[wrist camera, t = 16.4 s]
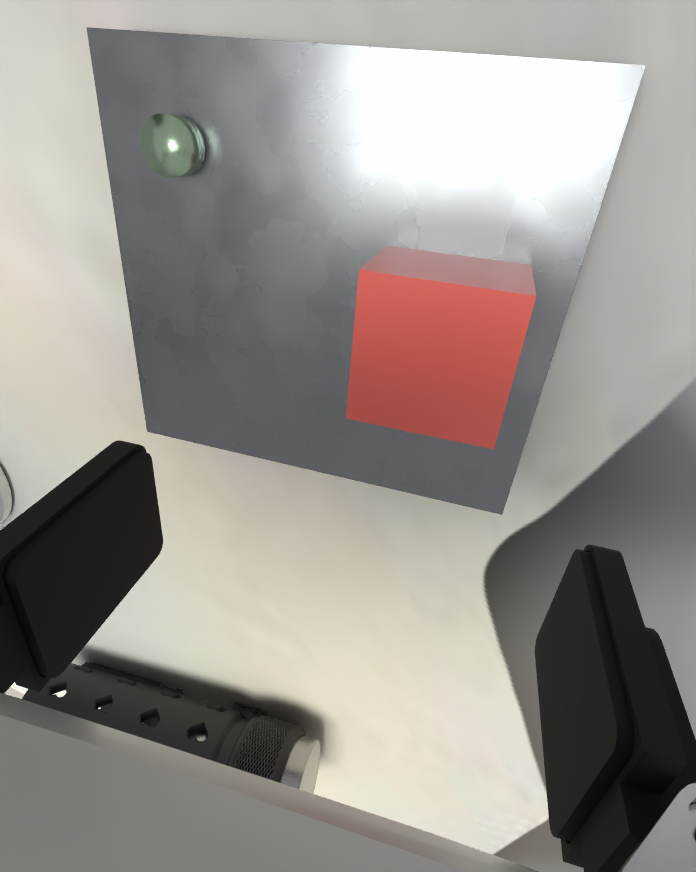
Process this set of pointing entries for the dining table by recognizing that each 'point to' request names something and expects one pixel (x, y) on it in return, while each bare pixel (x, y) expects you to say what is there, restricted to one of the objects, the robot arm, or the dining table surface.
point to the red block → (438, 342)
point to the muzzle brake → (186, 723)
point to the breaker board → (337, 227)
